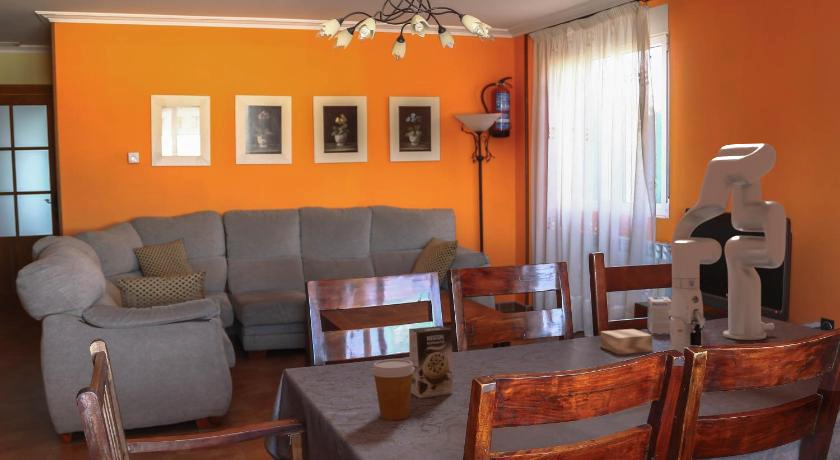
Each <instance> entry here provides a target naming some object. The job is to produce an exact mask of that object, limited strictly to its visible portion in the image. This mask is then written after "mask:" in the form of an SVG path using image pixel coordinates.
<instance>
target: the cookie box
mask: <svg viewBox="0 0 840 460" xmlns="http://www.w3.org/2000/svg"><path fill="white" fill-rule="evenodd" d="M452 332H453V331H452V329H451V328H449V327H446V326H442V325H437V326H436V325H435V326H427V327H417V328H416V327H415V328H409V329H408V337H409V338H408V339H409V340H408V342H409V343H408V344H409V346H408V347H409V349H408V350H409V361H411V362H412V364H413V367H414V368H415V369H414V372H413V375H412V386H411V394H412V395H414V396H416V397H417V398H419V399H422V398H429V397H430V398H431V397H437V396H445V395H452V394H454V393H453V392H454V390H453V389H454V387H453V385H454V383H453V345H452V344H453V343H452V340H453V339H452Z"/></svg>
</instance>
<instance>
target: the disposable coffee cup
mask: <svg viewBox="0 0 840 460" xmlns="http://www.w3.org/2000/svg"><path fill="white" fill-rule="evenodd" d="M414 369H415V368H414V367H413V364H412V362H411V361H410V359H409V360H408V359H402V358H401V359H398V358H392V359H391V358H390V359H384V360H379V361H376V362H374V363H373V367H372V369H371V372H372V375H374V382H375V388H376V395H377V401H378V407H379V408H378V409H379V413H380V414H379V415H380V418H381V419H383V420H387V421H399V420H400V421H401V420H404V419H407V418H408V417H410V405H411V394H412V393H411V386H412V375H413V372H414Z"/></svg>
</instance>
